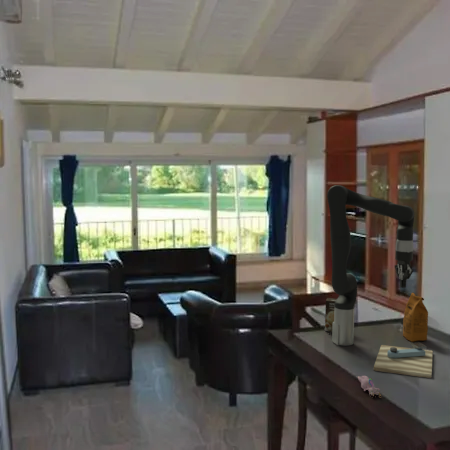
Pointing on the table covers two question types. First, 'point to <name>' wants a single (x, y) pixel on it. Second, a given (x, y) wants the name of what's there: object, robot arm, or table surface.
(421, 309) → the coffee package
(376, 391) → the rabbit figure
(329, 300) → the coffee box
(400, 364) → the pivot board
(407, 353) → the link
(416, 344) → the block
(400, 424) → the table surface
